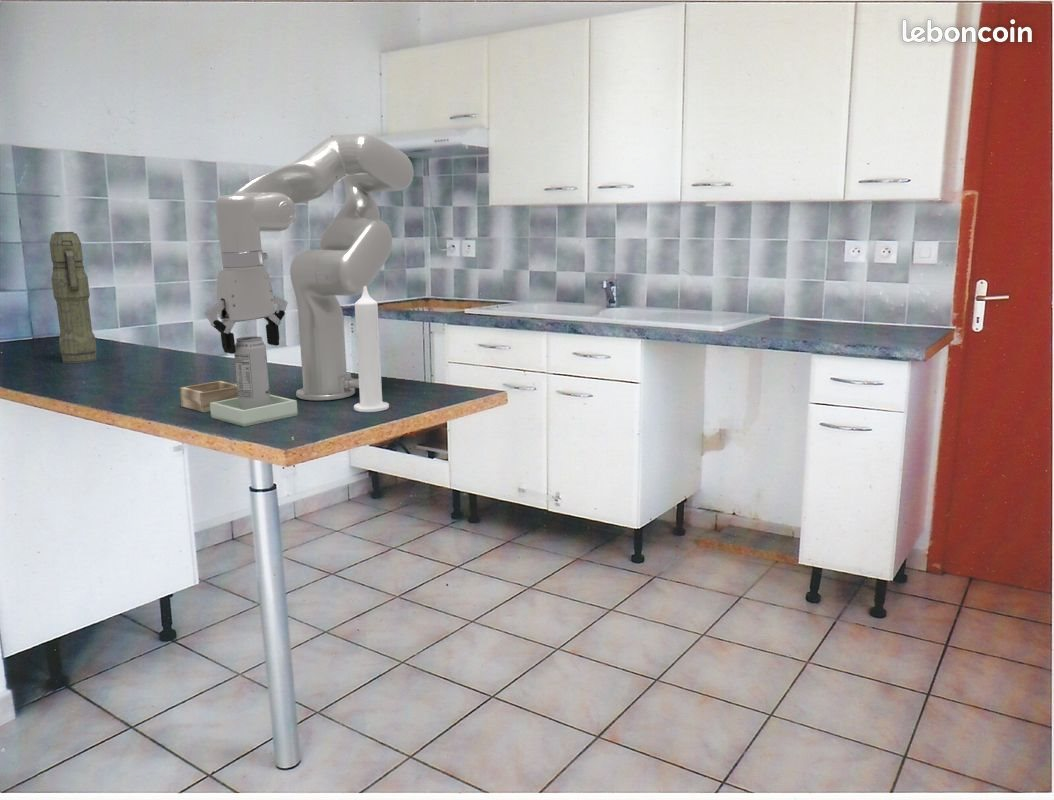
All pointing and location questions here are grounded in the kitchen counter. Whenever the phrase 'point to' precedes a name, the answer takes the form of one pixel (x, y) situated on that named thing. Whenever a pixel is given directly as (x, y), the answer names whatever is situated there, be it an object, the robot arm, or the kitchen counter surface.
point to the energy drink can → (251, 373)
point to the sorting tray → (253, 411)
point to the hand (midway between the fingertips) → (252, 348)
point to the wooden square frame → (206, 394)
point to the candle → (368, 355)
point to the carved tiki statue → (72, 299)
